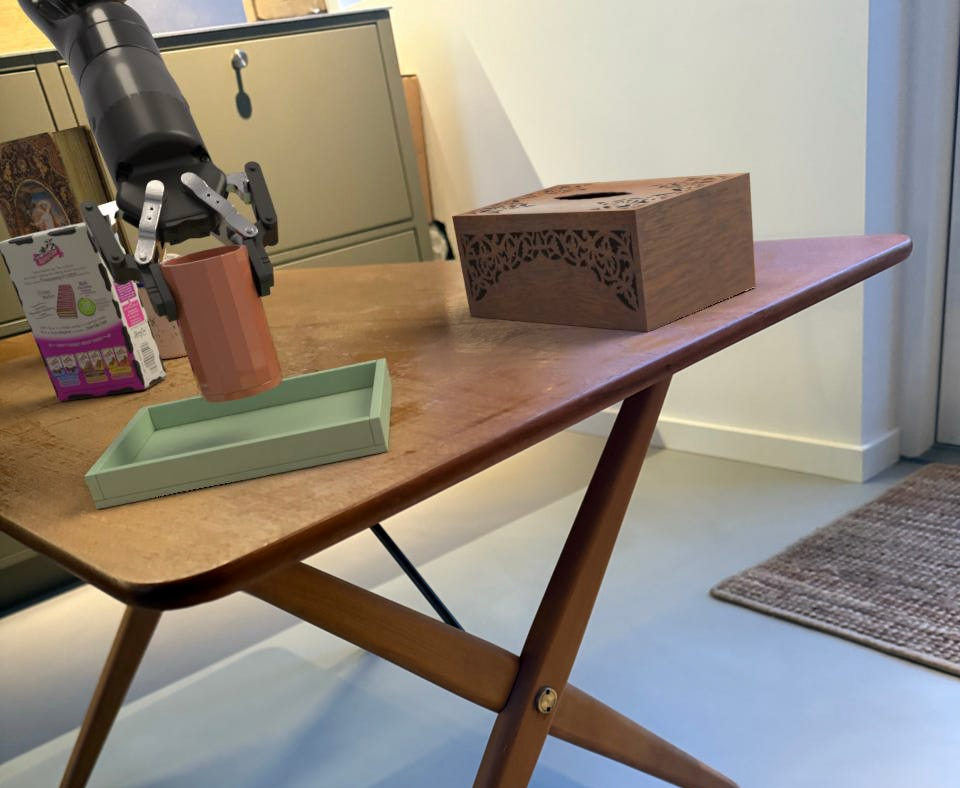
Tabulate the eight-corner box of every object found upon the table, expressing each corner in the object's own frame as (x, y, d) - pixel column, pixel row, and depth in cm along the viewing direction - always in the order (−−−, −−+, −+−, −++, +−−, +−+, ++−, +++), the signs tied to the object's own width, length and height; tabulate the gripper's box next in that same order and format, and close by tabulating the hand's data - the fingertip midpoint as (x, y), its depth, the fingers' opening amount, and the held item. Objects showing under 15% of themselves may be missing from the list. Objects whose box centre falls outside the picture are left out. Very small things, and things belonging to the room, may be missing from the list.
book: (50, 357, 134) (-30, 150, 122) (84, 345, 138) (10, 142, 126) (128, 356, 125) (50, 131, 113) (162, 342, 129) (90, 123, 117)
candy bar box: (170, 376, 110) (116, 214, 102) (147, 391, 106) (88, 223, 98) (82, 388, 114) (23, 232, 106) (56, 402, 109) (-7, 241, 101)
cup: (195, 408, 77) (149, 271, 72) (209, 385, 83) (168, 257, 78) (278, 391, 77) (238, 252, 72) (287, 369, 83) (250, 239, 78)
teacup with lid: (226, 333, 127) (195, 233, 121) (226, 347, 119) (194, 241, 113) (128, 356, 125) (94, 256, 120) (123, 371, 117) (85, 266, 112)
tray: (96, 509, 75) (83, 476, 73) (150, 436, 90) (140, 407, 89) (387, 451, 74) (379, 416, 72) (392, 387, 89) (385, 357, 88)
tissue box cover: (470, 316, 109) (451, 216, 104) (570, 280, 115) (557, 184, 110) (647, 331, 89) (635, 210, 85) (755, 287, 96) (749, 172, 91)
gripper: (238, 146, 85) (312, 308, 81) (62, 186, 81) (130, 359, 77) (230, 69, 78) (311, 242, 74) (37, 109, 74) (111, 294, 70)
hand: (219, 301), depth 75 cm, fingers closed on cup, 6 cm apart
